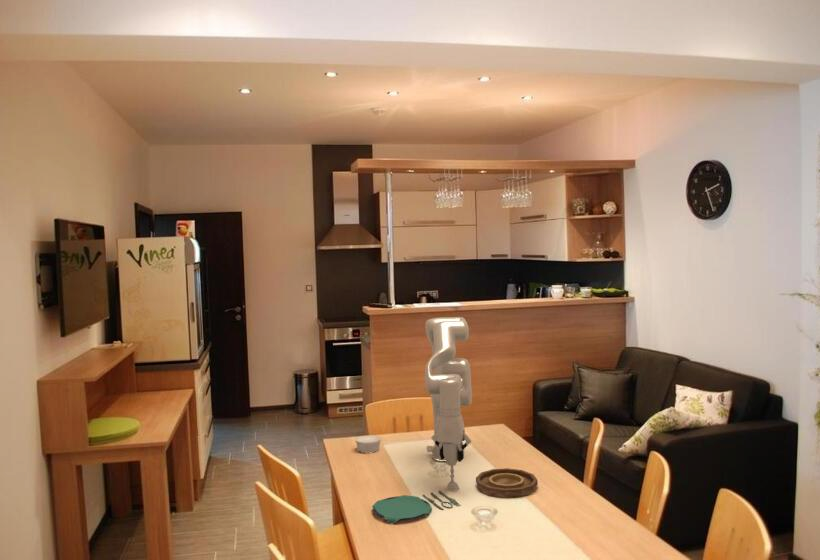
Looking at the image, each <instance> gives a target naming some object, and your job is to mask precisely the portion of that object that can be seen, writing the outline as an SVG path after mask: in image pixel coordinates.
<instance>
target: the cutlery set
mask: <svg viewBox="0 0 820 560" xmlns="http://www.w3.org/2000/svg"><path fill="white" fill-rule="evenodd" d="M438 494H440V495H441V496H443V497H444V498H445V499H447V500H448V501H443V500H442V499H441V498H440V497H439V496H438V495H437V494H436V493H434V492H433V491H431V492H430V495H431V496H433V497H435V498H436V499H437V500H438V501H440V502H441V506H440V505H439V504H437V503H436V502H435V499H431V498H429V497H428V496H426V495H425V494H422V497H423V496H424V498H426V499H427V500H428V501H427V500H424V499H423V498H421V497H419V496H416V495H407V494H403V495H400V496H391V497H386V498H384V499H383V498H382V499H379V500H377V501H376V502H375V503H374V504H373V505H372V511H373V512H374V514H375V515H376V516H378V517H380V518H382V519H385V520H386V521H387V522H388V523H389V524H391V523H393V524H392V525H394V524H396V523H397V522H398V521H412V520H416V519H419V518H422V517H424V516H425V515H427V516H429V515H430V513H431V512H432V510H433V508H432V506H431V504H433V505H434V506H435V507H436V508H438V509H439V510H442V511H445V509H444V508H446V507H447V509H450V508H451V509H452V508H453V506H456V507H461V506H462V505H461V504H460V503H459V502H458V501H456V499H455V498H453V497H449V496H448V495H446V494H445V492H443V491H441V490H438ZM429 502H430V503H431V504H430V503H429ZM443 503H444V504H447V503H448V504H447V505H450V506H451V507H449V506H445V505H444V504H443ZM443 507H444V508H443Z"/></svg>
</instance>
